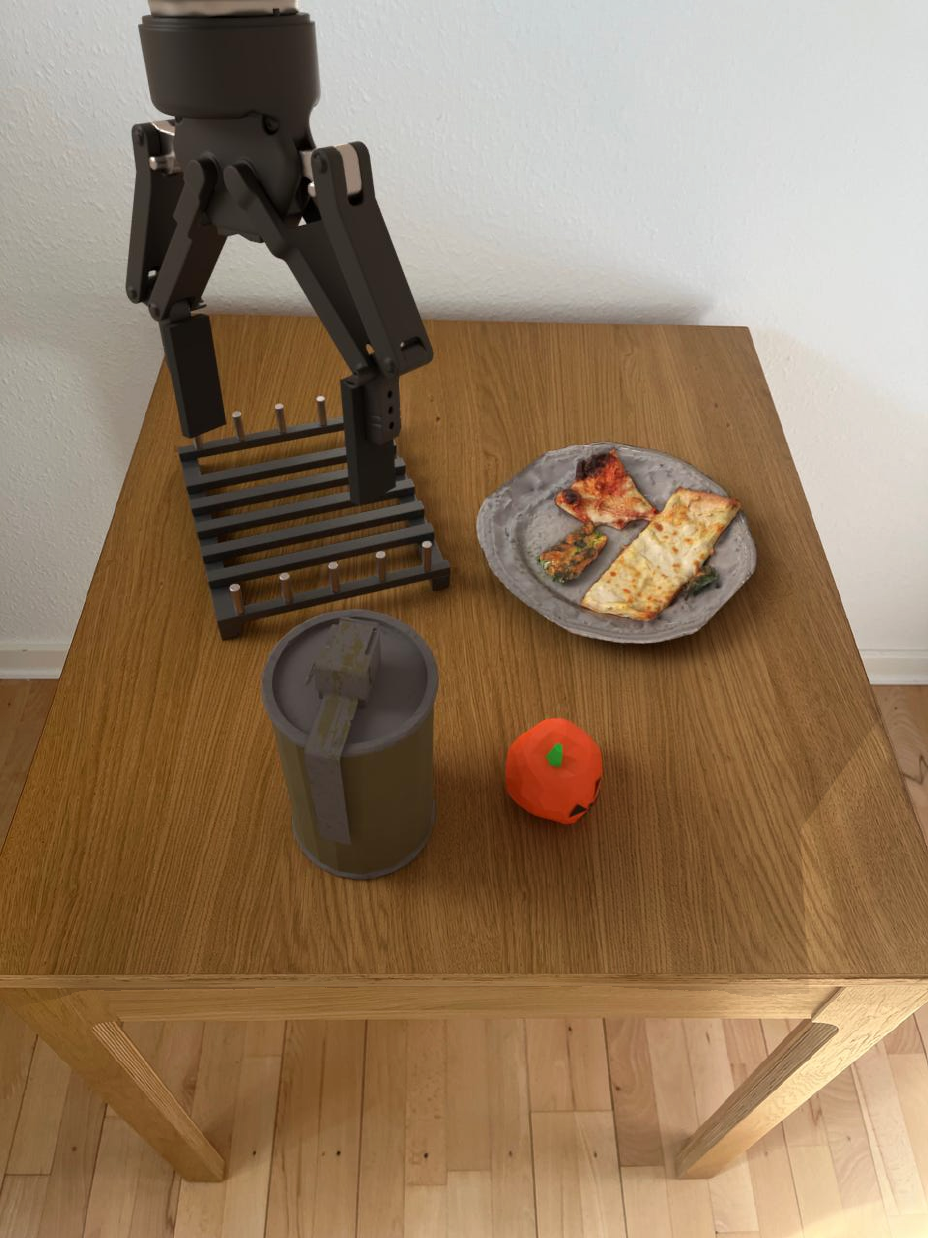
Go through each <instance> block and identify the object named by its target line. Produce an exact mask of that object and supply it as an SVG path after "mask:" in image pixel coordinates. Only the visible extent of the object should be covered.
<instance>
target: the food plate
mask: <svg viewBox="0 0 928 1238" xmlns="http://www.w3.org/2000/svg"><path fill="white" fill-rule="evenodd" d="M742 503H743V502H742V501H741V499H739V498H737V497H735V496H734V497H731V496H730V495H729V493H728V492H727V491H726V489H725V488H724V487H723V486H722V485H721V484H719V483H717V482H716V481H715V480H714V479H713V478H712V477H710V476H709V475H708V474H705V473H704V472H702V471H701V470H699V469H698V468H697V467H695V466H694V465H692V464H691V463H690V462H688V461H687V460H684V459H682V458H679V457H676V456H675V455H672V454H669V453H668V452H664V451H662V450H658V449H654V448H649V447H645V446H639V445H633V444H629V443H623V442H618V441H610V440H603V441H594V442H593V441H592V442H588V443H586V444H578V443H577V444H570V445H568V446H563V447H562V448H559V449H554V450H547V451H545V452H544V453H542V454H541V455H539V456H537V458H535V459H534V460H532V461H531V462H530V463H529V464H527V465H525V467H523V468H522V469H521V470H520V471H518V472H516V473H515V474H514V475H513V476H511V477H510V478H509V479H508V480H506V481H505V482H503V483H502V485H500V486H499V487H498V488H496V490H495V492H494V491H493V492H491V494H489V495H488V496H487V497H485V499H484V501H483V502H482V504H481V506H480V509H479V510H478V515H477V517H476V524H475V525H476V526H475V527H476V533H477V537H476V538H477V540H478V543H479V546H480V548H481V549H482V550H483V552H484V556H485V557H486V561H487V564H488V567H489V568H490V570H491V571H492V572H493V575H495V576H496V578H497V579H498V580H499V582H500V583H502V584H503V585H504V586H505V588H506V589H507V590H508V591H509V592H510V593H511V594H512V595H513V596H515V598H518V599H519V600H520V601H521V602H522V603H524V604H525V605H527V606H528V607H529V608H530V609H533V610H534V611H535V612H537V613H538V614H539V615H540V616H543V617H544V618H546V619H547V620H549V621H550V622H552V623H555V625H557V626H559V627H560V628H562V629H563V630H565V631H568V633H572V634H574V635H577V636H582V637H585V638H590V639H597V640H600V641H606V642H608V641H609V642H613V643H620V644H628V643H629V644H637V645H639V644H643V645H644V644H652V643H653V644H655V643H661V642H665V641H671V640H674V639H679V638H681V637H685V636H689V635H694V634H695V633H698V632H700V630H701V629H702V628H703V627H704V626H705V625H707V624H708V622H709V621H710V620H711V619H712V618H713V617H714V616H715V615H716V614H717V612H719V611H720V610H721V609H722V608H723V607H724V606H725V605H726V603H727V602H729V600H730V599H731V598H732V597H733V596H734V595H735V594H736V592H738V591H739V590H740V588H741V587H742V586H743V585H744V584H746V582H747V581H748V580H749V579H750V578H751V577H752V576H753V575H754V574H755V571H756V567H757V566H758V552H757V551H758V550H757V544H756V542H755V540H754V537H753V533H752V532H751V529H750V526H749V521H748V517H747V514H746V513H744V510H743V509H742Z"/></svg>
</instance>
